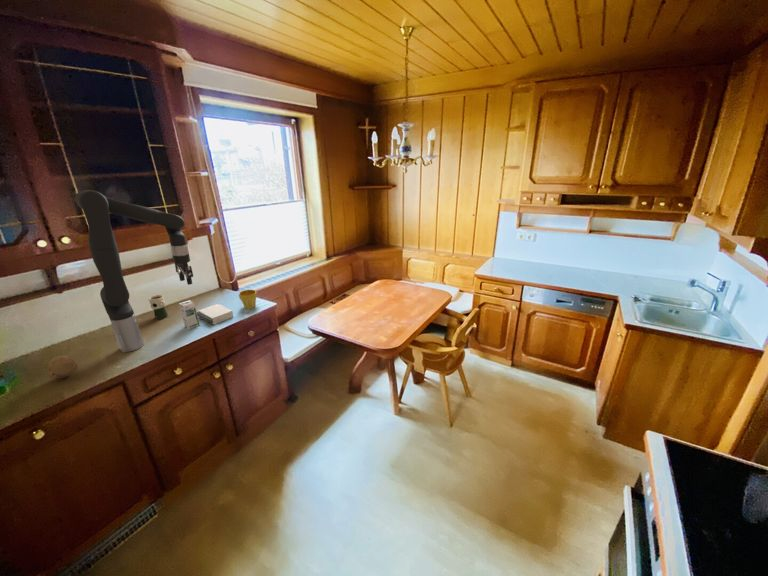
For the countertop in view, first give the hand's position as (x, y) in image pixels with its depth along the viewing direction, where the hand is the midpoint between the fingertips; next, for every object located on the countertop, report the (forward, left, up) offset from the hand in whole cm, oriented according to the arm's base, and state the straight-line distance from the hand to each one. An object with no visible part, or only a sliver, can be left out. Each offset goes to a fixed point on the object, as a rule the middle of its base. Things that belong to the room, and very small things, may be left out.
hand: (186, 282), depth 170 cm
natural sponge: (-56, -4, -26) cm, 62 cm away
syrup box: (-2, 0, -26) cm, 26 cm away
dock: (+12, 0, -26) cm, 28 cm away
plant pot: (+32, -3, -26) cm, 41 cm away
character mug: (-8, +25, -26) cm, 37 cm away
